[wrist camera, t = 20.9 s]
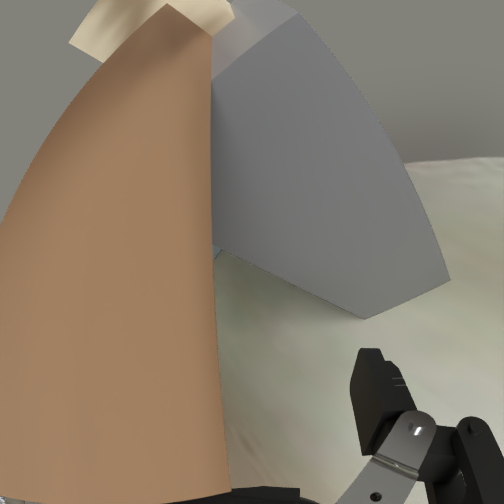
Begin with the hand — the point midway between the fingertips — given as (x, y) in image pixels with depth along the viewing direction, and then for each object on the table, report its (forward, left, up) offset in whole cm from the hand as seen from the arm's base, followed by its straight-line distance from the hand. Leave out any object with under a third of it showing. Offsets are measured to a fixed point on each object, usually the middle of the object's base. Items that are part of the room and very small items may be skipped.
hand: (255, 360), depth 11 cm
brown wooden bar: (+6, +4, +6) cm, 9 cm away
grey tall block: (+9, +9, -21) cm, 24 cm away
